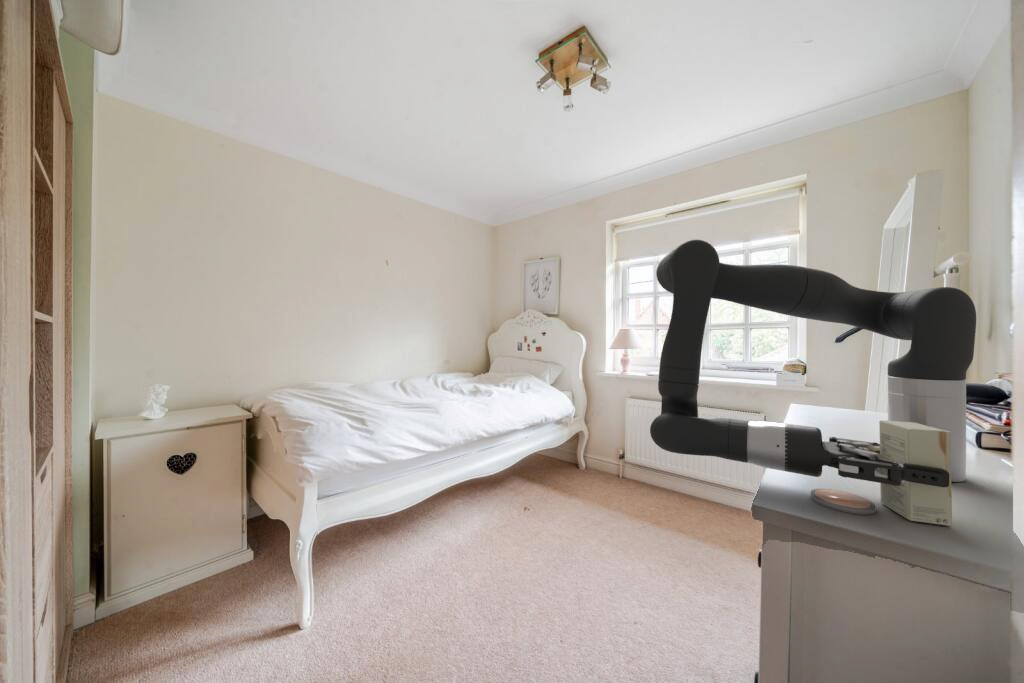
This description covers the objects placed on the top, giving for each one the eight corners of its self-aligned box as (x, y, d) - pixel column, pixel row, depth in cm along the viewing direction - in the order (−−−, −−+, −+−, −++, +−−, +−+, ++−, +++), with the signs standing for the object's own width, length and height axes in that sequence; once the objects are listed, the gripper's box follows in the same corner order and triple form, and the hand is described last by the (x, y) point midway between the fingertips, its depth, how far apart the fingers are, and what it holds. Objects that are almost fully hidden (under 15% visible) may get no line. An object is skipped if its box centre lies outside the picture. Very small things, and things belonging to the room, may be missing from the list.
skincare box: (954, 528, 45) (954, 432, 45) (909, 522, 46) (909, 429, 46) (916, 505, 51) (917, 421, 51) (877, 501, 52) (878, 418, 52)
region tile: (805, 489, 57) (805, 484, 57) (864, 499, 53) (864, 494, 53) (816, 507, 50) (816, 501, 50) (884, 519, 47) (884, 513, 47)
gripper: (782, 432, 52) (959, 455, 41) (782, 416, 63) (921, 431, 53) (782, 484, 52) (959, 519, 41) (782, 458, 63) (921, 481, 53)
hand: (937, 469), depth 47 cm, fingers closed on skincare box, 7 cm apart
